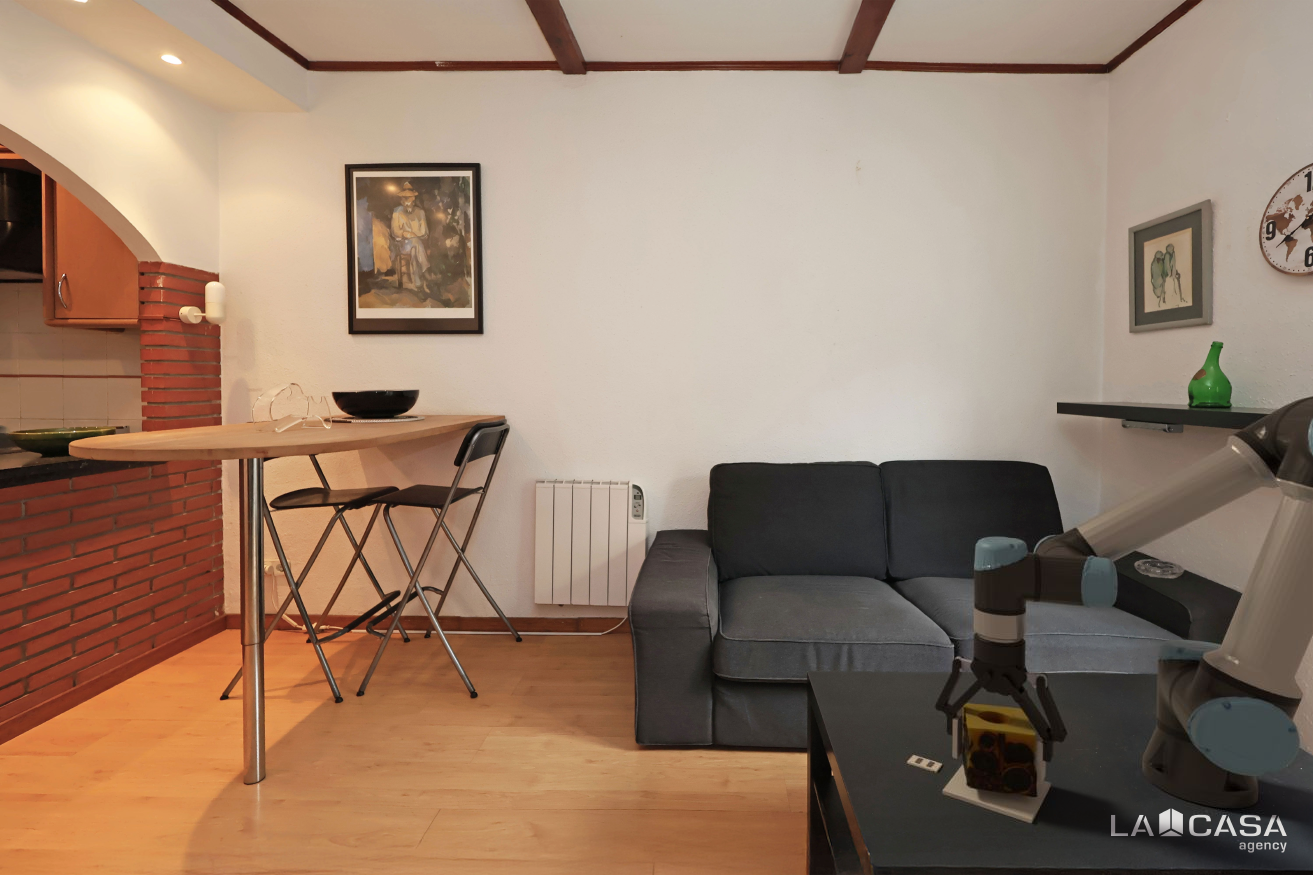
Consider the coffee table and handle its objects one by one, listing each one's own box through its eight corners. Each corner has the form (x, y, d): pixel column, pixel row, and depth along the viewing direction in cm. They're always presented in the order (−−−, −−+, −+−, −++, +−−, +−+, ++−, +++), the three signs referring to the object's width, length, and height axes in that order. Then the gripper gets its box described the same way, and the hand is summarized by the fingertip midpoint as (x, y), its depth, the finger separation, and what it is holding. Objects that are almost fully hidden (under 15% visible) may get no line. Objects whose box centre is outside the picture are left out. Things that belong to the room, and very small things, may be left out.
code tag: (942, 765, 126) (942, 763, 126) (936, 772, 124) (936, 770, 124) (913, 756, 129) (913, 754, 129) (907, 763, 127) (907, 761, 127)
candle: (1038, 799, 112) (1039, 736, 111) (966, 789, 115) (967, 727, 114) (1026, 766, 121) (1027, 708, 121) (961, 758, 125) (961, 701, 124)
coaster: (1050, 785, 119) (1050, 782, 119) (1031, 823, 109) (1031, 819, 109) (967, 761, 127) (967, 757, 127) (942, 793, 117) (942, 790, 117)
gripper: (1090, 644, 112) (1087, 780, 113) (930, 615, 127) (930, 736, 128) (1081, 658, 106) (1078, 802, 107) (915, 626, 121) (914, 753, 123)
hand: (997, 766), depth 118 cm, fingers closed on candle, 12 cm apart
